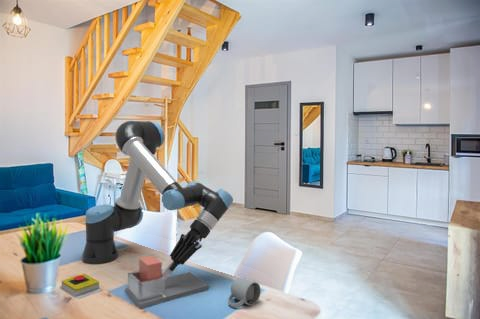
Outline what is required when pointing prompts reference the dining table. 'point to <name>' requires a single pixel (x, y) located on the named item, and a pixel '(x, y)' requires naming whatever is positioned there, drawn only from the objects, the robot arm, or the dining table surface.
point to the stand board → (174, 289)
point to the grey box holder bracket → (145, 287)
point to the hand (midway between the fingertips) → (163, 276)
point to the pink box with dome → (149, 268)
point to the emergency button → (81, 286)
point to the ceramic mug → (244, 292)
